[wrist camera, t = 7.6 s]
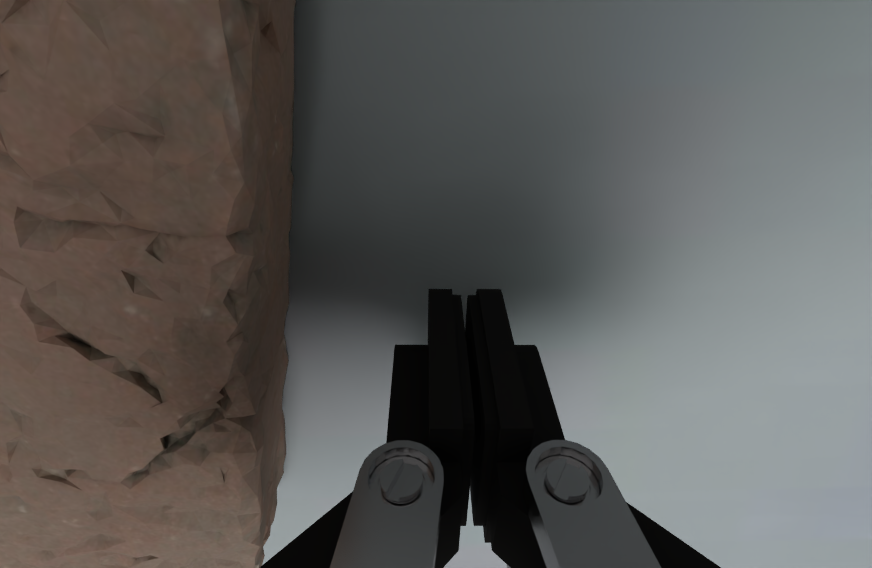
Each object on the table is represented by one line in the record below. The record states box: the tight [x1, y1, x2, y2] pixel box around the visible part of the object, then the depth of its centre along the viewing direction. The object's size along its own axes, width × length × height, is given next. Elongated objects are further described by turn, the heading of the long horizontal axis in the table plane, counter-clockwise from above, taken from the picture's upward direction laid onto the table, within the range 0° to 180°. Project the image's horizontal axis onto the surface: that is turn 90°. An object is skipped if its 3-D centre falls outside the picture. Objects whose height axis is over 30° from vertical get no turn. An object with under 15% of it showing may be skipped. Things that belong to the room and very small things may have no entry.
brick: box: [0, 0, 296, 568], centre depth 10 cm, size 17×8×5 cm, turn 169°
